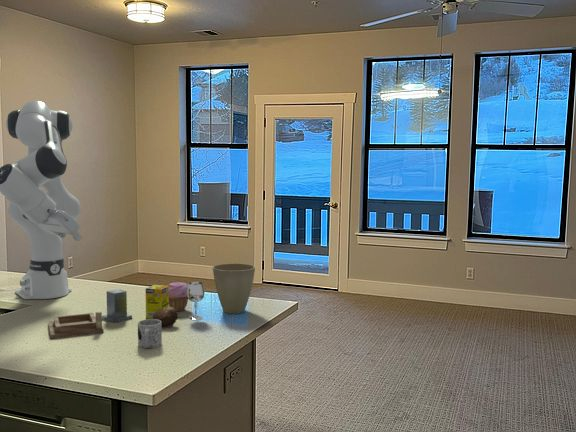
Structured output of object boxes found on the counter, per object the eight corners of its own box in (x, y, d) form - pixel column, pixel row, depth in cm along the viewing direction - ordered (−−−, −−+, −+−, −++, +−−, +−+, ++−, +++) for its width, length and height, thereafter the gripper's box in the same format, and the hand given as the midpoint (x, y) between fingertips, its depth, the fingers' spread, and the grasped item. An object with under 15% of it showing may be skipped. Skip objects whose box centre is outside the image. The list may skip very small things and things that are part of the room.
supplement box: (162, 322, 186) (161, 289, 185) (145, 320, 187) (144, 288, 186) (169, 317, 192) (169, 285, 191) (153, 315, 193) (152, 284, 192)
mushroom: (172, 310, 189) (167, 298, 184) (185, 323, 184) (180, 311, 180) (152, 324, 185) (146, 312, 181) (164, 338, 180) (159, 326, 176)
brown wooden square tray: (48, 325, 181) (47, 306, 181) (97, 319, 188) (97, 301, 187) (50, 338, 168) (50, 318, 167) (103, 332, 174) (103, 312, 174)
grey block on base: (101, 319, 189) (101, 291, 188) (120, 315, 194) (119, 287, 193) (113, 323, 184) (113, 294, 183) (132, 318, 190) (131, 291, 189)
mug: (140, 341, 167) (140, 319, 166) (163, 341, 167) (163, 319, 166) (133, 352, 157) (133, 329, 156) (158, 352, 157) (157, 329, 156)
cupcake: (161, 309, 202) (160, 281, 201) (182, 305, 208) (182, 278, 207) (173, 314, 195) (173, 286, 194) (195, 310, 201) (195, 282, 200)
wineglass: (183, 318, 191) (183, 283, 190) (197, 314, 195) (197, 280, 194) (194, 321, 187) (194, 286, 186) (208, 318, 191) (207, 283, 190)
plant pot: (263, 311, 200) (263, 267, 198) (229, 319, 190) (229, 272, 188) (238, 303, 211) (238, 261, 209) (204, 310, 201) (204, 266, 200)
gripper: (65, 202, 167) (95, 232, 176) (31, 200, 180) (61, 228, 189) (51, 218, 164) (82, 248, 173) (18, 215, 177) (49, 242, 186)
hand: (71, 237), depth 181 cm, fingers open, 8 cm apart
